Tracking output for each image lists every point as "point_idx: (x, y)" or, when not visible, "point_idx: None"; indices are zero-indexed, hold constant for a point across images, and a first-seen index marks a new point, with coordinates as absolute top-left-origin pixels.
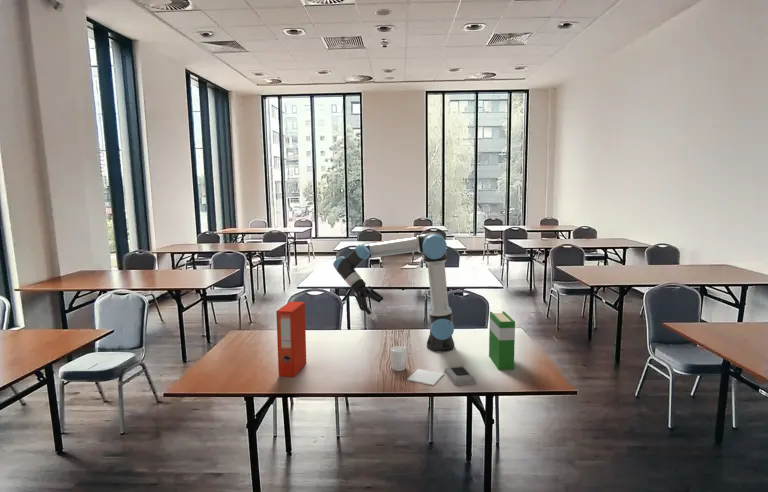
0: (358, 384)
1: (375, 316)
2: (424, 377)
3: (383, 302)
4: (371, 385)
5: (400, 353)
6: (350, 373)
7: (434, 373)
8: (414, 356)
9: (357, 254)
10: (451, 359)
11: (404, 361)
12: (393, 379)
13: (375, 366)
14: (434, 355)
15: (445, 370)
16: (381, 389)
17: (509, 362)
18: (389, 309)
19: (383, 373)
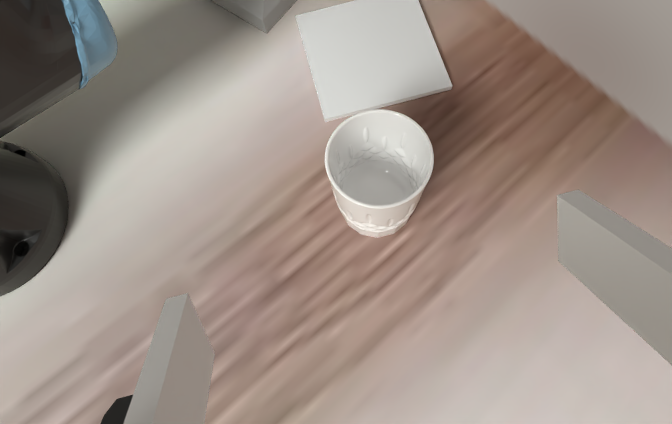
0: (667, 219)
1: (588, 200)
2: (383, 46)
3: (138, 419)
4: (619, 166)
5: (407, 122)
6: (624, 356)
7: (319, 41)
8: (191, 245)
9: None
10: (121, 89)
11: (372, 147)
12: (491, 137)
13: (447, 315)
14: (119, 176)
15: (271, 17)
16: (607, 107)
17: None
18: (168, 303)
19: (479, 217)
